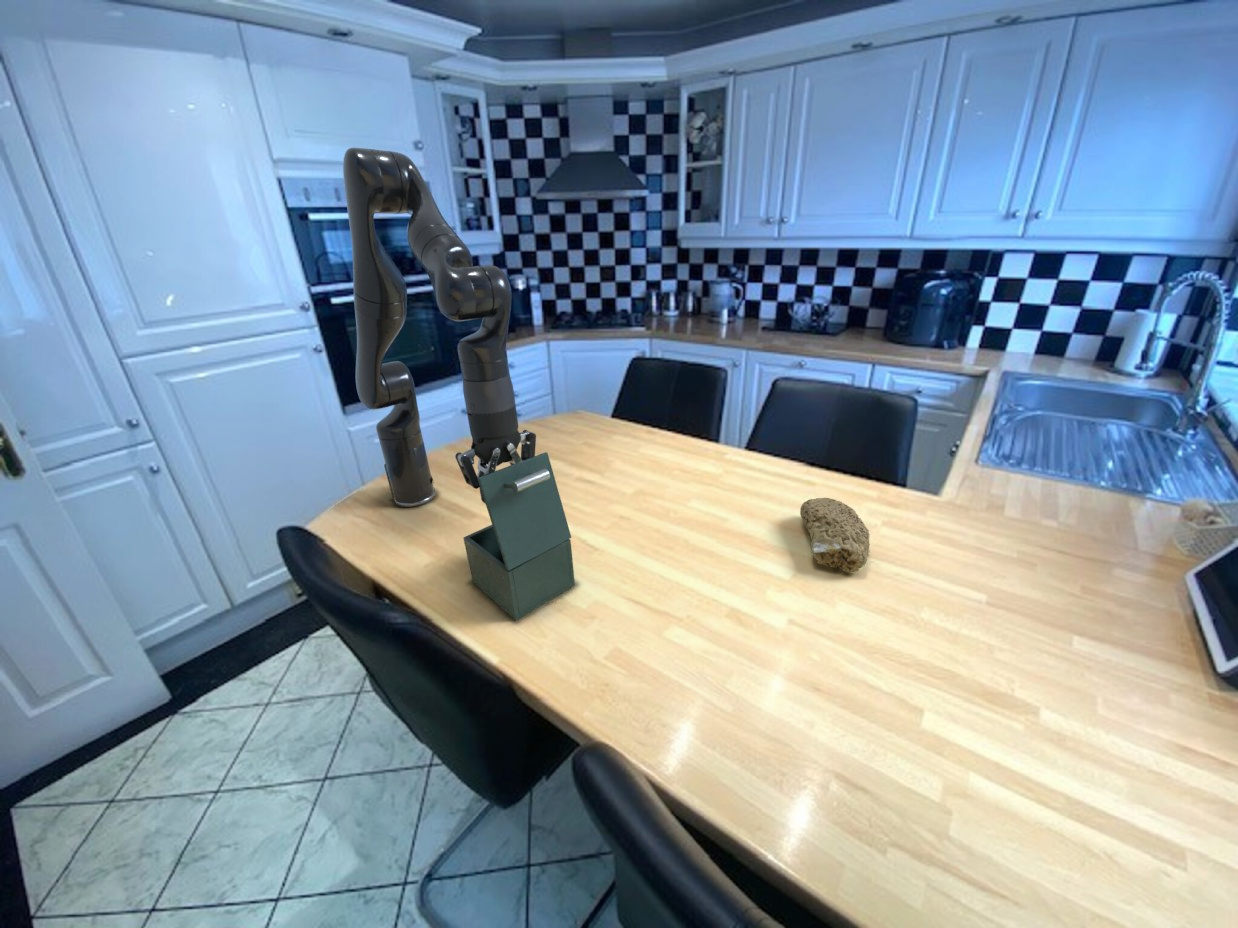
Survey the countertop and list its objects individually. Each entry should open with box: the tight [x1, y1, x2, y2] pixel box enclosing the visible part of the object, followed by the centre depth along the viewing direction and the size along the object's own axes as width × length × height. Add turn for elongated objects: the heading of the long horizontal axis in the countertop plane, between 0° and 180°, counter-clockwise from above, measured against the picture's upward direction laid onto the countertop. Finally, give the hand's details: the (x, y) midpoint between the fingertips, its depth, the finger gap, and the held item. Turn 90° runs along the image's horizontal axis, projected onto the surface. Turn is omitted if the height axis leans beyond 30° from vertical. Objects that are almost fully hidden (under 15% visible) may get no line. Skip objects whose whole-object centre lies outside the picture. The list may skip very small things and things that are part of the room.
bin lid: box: [478, 451, 572, 570], centre depth 80 cm, size 15×13×5 cm
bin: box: [462, 524, 576, 621], centre depth 90 cm, size 15×13×10 cm
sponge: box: [799, 497, 871, 574], centre depth 98 cm, size 13×8×20 cm
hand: (505, 497), depth 86 cm, fingers closed on supplement bottle, 5 cm apart
